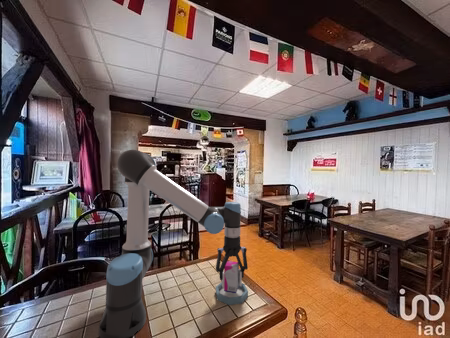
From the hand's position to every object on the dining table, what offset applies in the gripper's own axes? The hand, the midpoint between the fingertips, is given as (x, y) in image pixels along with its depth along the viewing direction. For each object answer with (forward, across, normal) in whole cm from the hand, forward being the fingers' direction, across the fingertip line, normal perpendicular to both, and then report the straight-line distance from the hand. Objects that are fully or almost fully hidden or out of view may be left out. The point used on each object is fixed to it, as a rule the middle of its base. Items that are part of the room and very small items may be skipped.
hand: (231, 285), depth 90 cm
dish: (+4, 0, 0) cm, 4 cm away
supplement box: (+2, 0, 0) cm, 2 cm away
